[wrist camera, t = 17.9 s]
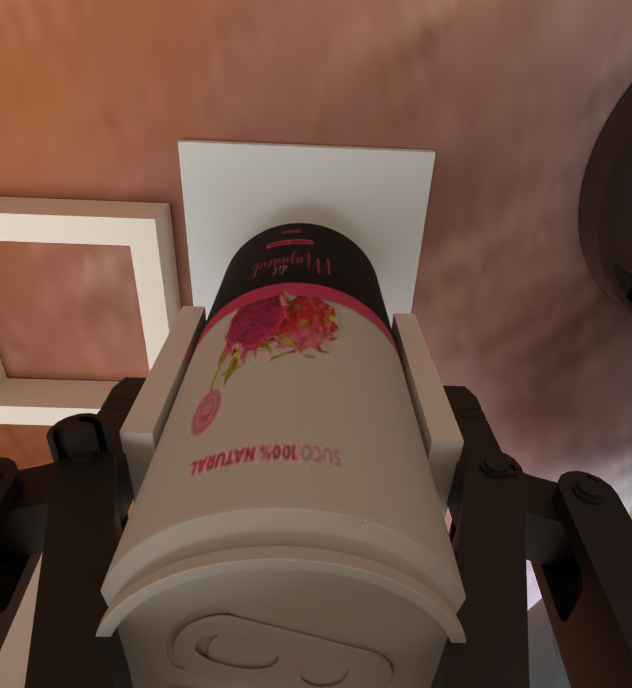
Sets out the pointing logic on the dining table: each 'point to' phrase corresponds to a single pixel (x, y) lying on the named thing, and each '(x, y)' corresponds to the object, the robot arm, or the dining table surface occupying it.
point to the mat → (305, 205)
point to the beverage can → (288, 494)
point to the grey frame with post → (78, 395)
